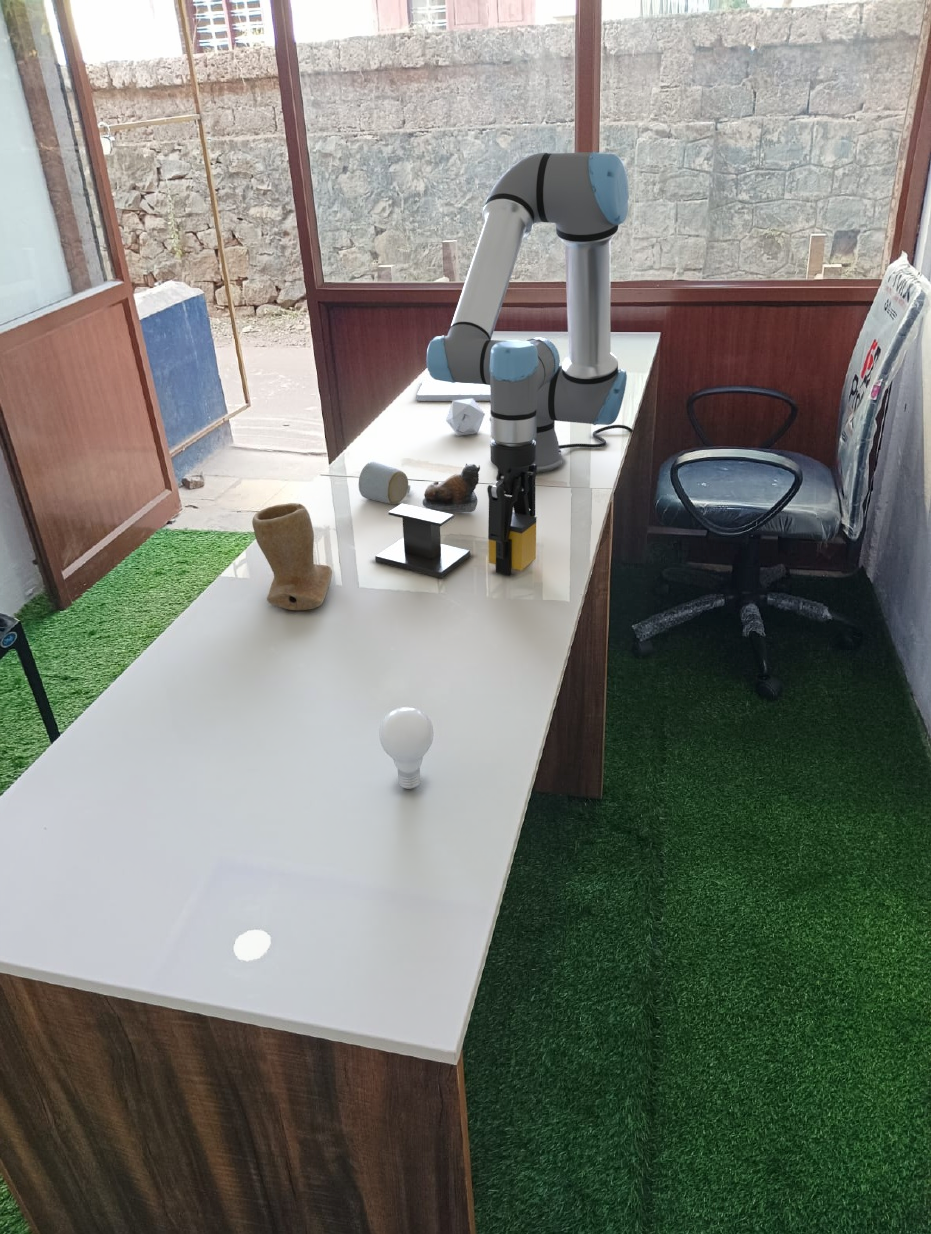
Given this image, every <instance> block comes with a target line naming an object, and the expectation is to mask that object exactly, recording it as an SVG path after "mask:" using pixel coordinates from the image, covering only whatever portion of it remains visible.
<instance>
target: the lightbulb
mask: <svg viewBox="0 0 931 1234" xmlns="http://www.w3.org/2000/svg"><path fill="white" fill-rule="evenodd" d="M378 731H379V733H378V739H379V742H380V744H381V747H382V749H383V750H384V752H385V753H386V754H387V755H388V756H389V757H390V758H391V759H392V760H393V763H394V766H395V767H396V769H397V778H398V779H397V780H398V785H399V786H400V787H401V788H404V789H406V790H407V789H408V790H411V789H415V788H418V786H419V785H420V784H421V781H422V780H421V766H422V763H423V758H424V756H425V755H426V754H427V753H428V752H429V750H430V748H431V746H432V744H433V741H434V727H433V724H432V721H431V720H430V718H429V716H428V715H427V714H426V713H424V712H423V711H422V710H421V709H419V708H416V707H414V706H399V707H396V708H394V709H393V710H391V711H389V712H388V713H387V714H386V715H385V717H384V718H383V720H382V721H381V724H380V726H379V730H378Z"/></svg>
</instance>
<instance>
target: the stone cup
mask: <svg viewBox="0 0 931 1234" xmlns="http://www.w3.org/2000/svg"><path fill="white" fill-rule="evenodd" d="M311 519H312V518H311V516H310V513H309V511H308V509H307V508H306V506H304V505H303V504H301V503H298V502H289V503H288V502H287V503H281V504H276V505H272V506H269V507H266V508H263V509H261V510H259V511H257V512H256V513H255V514H254V516H253V517H252V520H251V523H252V528H253V529H252V530H253V532H254V533H253V534H254V537H255V540H256V543H257V545H258V547H259V549H260V550H261V552H262V554H263V555H264V558H265V560H266V561H267V563H268V564H269V567H270V569H271V571H272V573H273V579H272V582H271V584H270V588H269V590H268V595H267V597H266V601H267V602H268V603H269V604H271V605H274V606H276V607H279V608H282V609H286V610H289V611H307V610H312V609H315V608H318V607H320V606H321V605H323V603H324V600H325V598H326V596H327V593H328V590H329V587H330V584H331V579H332V574H333V571H332V567H331V566H329V565H325V564H317V563H314V561H315V560H314V545H315V544H314V542H315V535H314V534H315V533H314V527H313V523H312V520H311Z"/></svg>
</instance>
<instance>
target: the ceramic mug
mask: <svg viewBox="0 0 931 1234" xmlns="http://www.w3.org/2000/svg"><path fill="white" fill-rule="evenodd" d="M358 491H359V493H360V495H361V496H362V498H364V499H367V500H372V501H376V502H380V503H385V504H388V505H398V504H400V503H401V502H402V501H403V500H404V499H405V497H406V495H407V494H409V493H410V492H411V485H409V479H408V476H407V474H406V473H405V472H404V471H402V470H400V469H398V468H396V467H391V466H388V465H386V464H382V463H379V462H376V461H370V462H368V463H367V464H365V465H364V466H363V467H362V469H361V471H360V473H359V477H358Z"/></svg>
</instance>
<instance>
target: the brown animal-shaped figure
mask: <svg viewBox="0 0 931 1234" xmlns="http://www.w3.org/2000/svg"><path fill="white" fill-rule="evenodd" d="M480 470H481V465H478V466H477V465H476V464H475V463H471V464H468V463H465V466H464V467H463V469H462V471H461V472H460V474H459V473H455V474H452V475H451V476H449V477H447V478H446V479H445V480H442V481H441V482H439V481H438V480H435V481H434V482H432V483H431V484H429V485H428V486H427V487H426V489H425V491H424V494H423V496H424V498H423V499H422V501H421V504H422V506H423V507H424V508H425V509H429V510H434V511H439V512H443V513H472V512H475V511H476V510H477V505H478V502H479V501H478V500H479V499H478V497H477V494H476V492H475V489H476V487H477V486H478V484H479V481H480V477H479V475H480V474H479V472H480Z"/></svg>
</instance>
